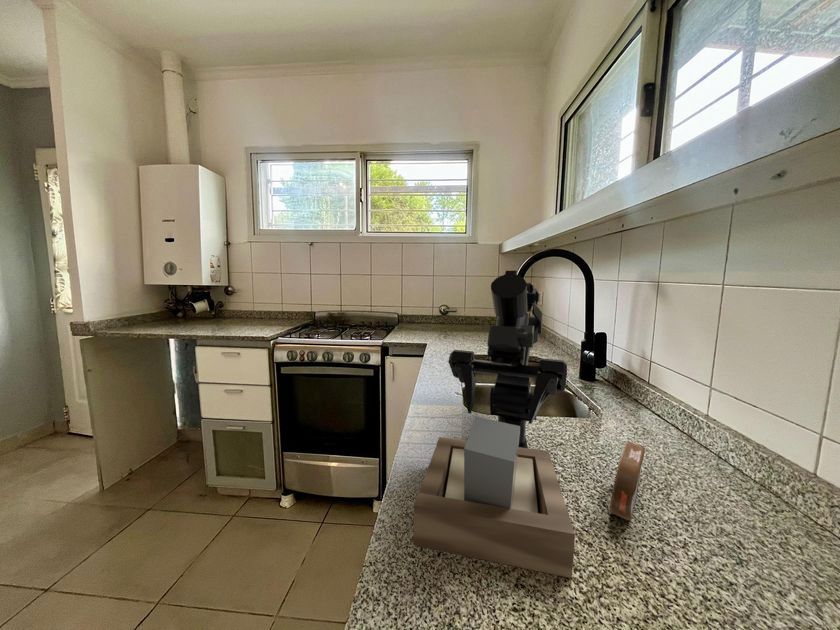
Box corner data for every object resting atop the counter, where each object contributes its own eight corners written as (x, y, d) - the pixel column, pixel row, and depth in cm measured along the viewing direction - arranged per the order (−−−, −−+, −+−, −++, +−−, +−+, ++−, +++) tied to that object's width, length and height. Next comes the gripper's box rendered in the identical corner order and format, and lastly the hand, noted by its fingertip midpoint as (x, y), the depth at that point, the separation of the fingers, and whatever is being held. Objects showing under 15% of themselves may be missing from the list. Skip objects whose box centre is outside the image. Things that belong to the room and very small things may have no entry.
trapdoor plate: (453, 452, 56) (453, 447, 55) (531, 463, 53) (532, 458, 52) (441, 526, 44) (440, 521, 44) (540, 545, 41) (541, 540, 41)
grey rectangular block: (474, 479, 50) (475, 416, 45) (514, 491, 47) (520, 426, 42) (464, 515, 45) (464, 448, 39) (508, 530, 42) (514, 461, 37)
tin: (621, 477, 57) (625, 432, 57) (643, 484, 55) (647, 437, 55) (606, 524, 46) (610, 468, 45) (632, 536, 44) (637, 477, 43)
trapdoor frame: (438, 465, 60) (439, 437, 59) (546, 481, 56) (548, 450, 55) (413, 545, 41) (414, 505, 41) (571, 578, 37) (575, 534, 37)
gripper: (452, 304, 56) (429, 384, 47) (570, 309, 49) (569, 404, 40) (463, 341, 64) (444, 415, 55) (565, 350, 57) (563, 436, 48)
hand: (498, 417), depth 49 cm, fingers open, 9 cm apart
